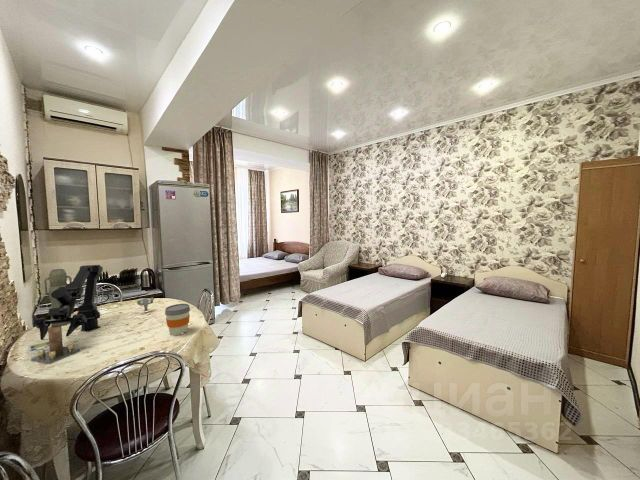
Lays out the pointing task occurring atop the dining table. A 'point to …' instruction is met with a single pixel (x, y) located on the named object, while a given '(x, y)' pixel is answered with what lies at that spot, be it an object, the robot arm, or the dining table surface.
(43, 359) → the chassis plate
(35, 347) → the handheld gaming device
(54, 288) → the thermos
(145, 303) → the mechanical component
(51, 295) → the robot arm
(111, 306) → the dining table surface
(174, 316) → the reusable coffee cup
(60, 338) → the walnut post
